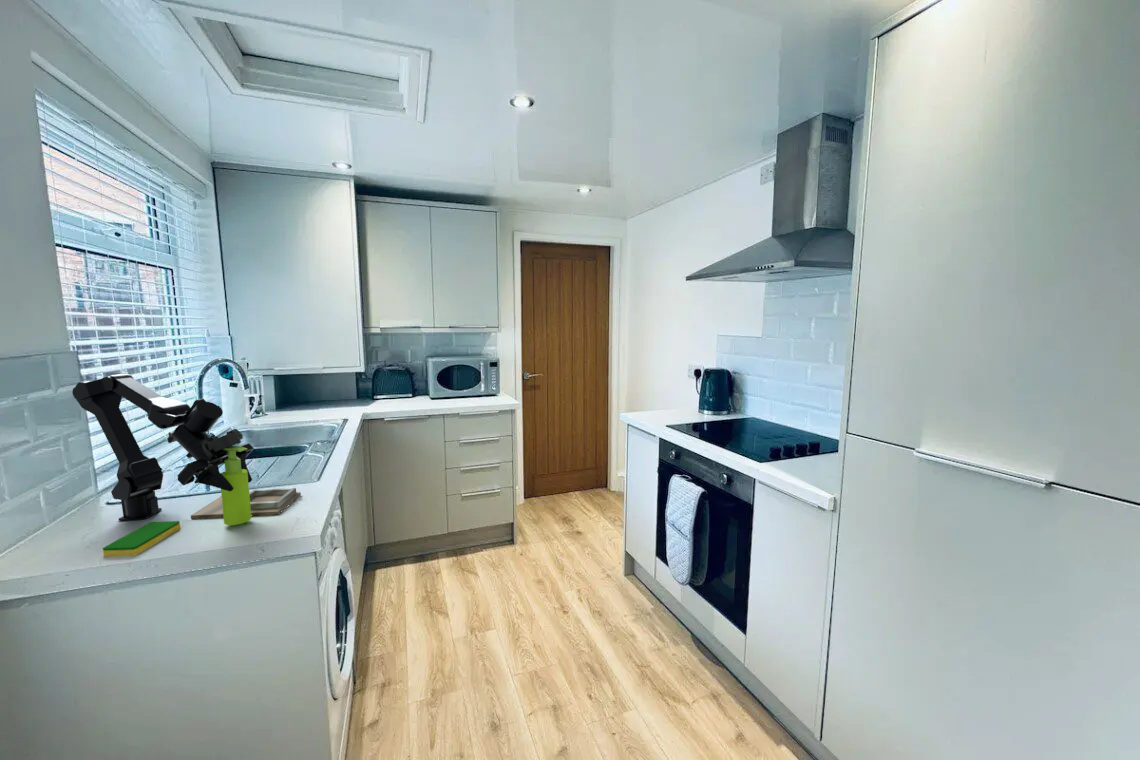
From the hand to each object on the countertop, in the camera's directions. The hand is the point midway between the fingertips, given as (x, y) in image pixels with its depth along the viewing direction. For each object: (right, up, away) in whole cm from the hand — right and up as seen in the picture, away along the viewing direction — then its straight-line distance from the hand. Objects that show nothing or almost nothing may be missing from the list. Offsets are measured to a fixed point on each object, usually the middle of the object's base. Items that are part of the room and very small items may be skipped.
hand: (241, 485), depth 120 cm
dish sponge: (-18, -12, -8) cm, 23 cm away
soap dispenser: (-2, -10, +1) cm, 10 cm away
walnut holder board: (-7, -9, +13) cm, 17 cm away
